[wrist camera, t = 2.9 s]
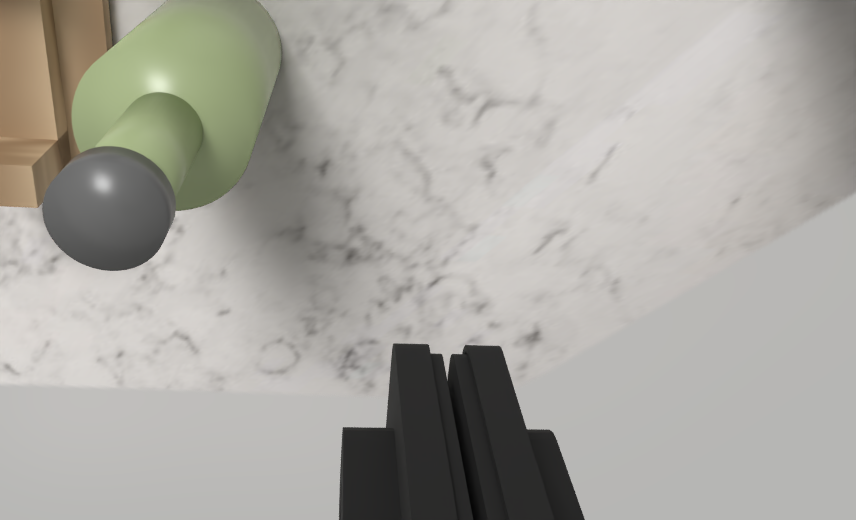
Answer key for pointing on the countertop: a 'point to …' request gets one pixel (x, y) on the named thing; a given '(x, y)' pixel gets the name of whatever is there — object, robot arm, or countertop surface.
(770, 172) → the countertop surface
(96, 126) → the bottle
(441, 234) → the countertop surface
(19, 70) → the rest
